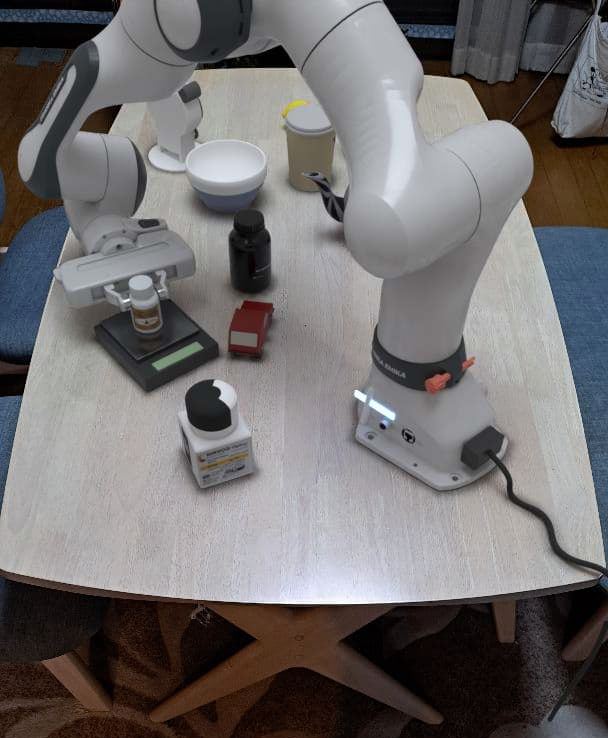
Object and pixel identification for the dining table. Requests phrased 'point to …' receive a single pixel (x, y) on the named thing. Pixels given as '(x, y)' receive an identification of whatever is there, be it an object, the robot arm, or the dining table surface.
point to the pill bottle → (144, 305)
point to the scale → (157, 345)
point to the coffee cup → (309, 145)
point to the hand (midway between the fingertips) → (145, 301)
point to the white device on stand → (176, 127)
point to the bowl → (226, 173)
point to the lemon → (291, 106)
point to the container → (215, 433)
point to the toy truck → (249, 328)
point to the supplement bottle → (250, 252)
